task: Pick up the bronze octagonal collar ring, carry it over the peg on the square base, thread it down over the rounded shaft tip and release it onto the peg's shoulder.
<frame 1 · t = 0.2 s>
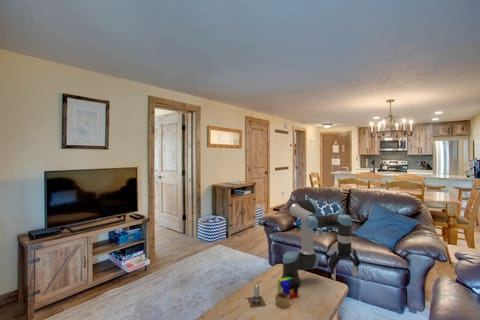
hand: (344, 277, 146), 28 cm above the table, fingers open, 13 cm apart
peg on square base: (256, 302, 168), on the table
ring: (282, 304, 166), on the table
puzzle toy: (287, 295, 177), on the table
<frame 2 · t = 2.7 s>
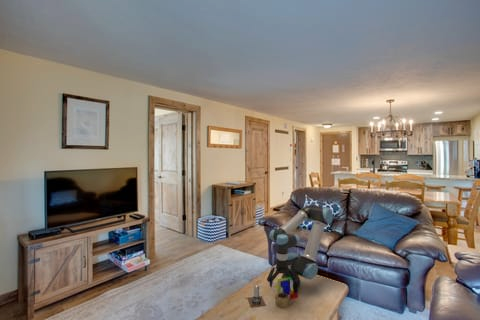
hand: (281, 290, 165), 10 cm above the table, fingers open, 13 cm apart
nothing on the table moved.
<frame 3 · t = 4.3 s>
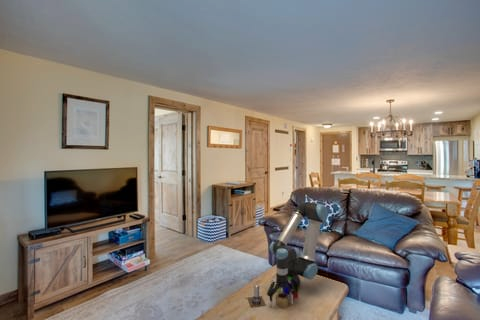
hand: (281, 304, 165), 0 cm above the table, fingers open, 13 cm apart
nothing on the table moved.
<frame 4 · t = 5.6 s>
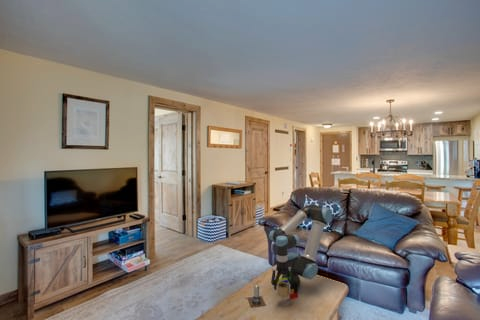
hand: (282, 293, 166), 7 cm above the table, fingers closed on ring, 8 cm apart
ring: (282, 293, 166), point 7 cm above the table, touching gripper
everything else where it was.
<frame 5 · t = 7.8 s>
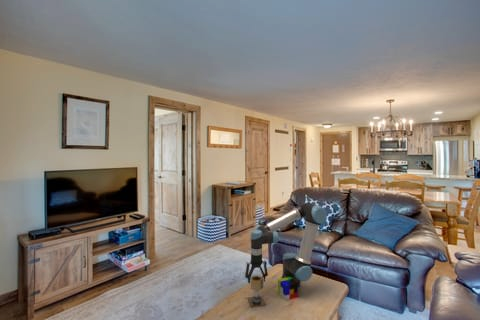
hand: (256, 286, 168), 11 cm above the table, fingers closed on ring, 8 cm apart
ring: (256, 287, 168), point 10 cm above the table, touching gripper
everything else where it was.
when the fingers open (3 cm above the table, at t = 10.2 s): ring stays where it is, resting on peg on square base.
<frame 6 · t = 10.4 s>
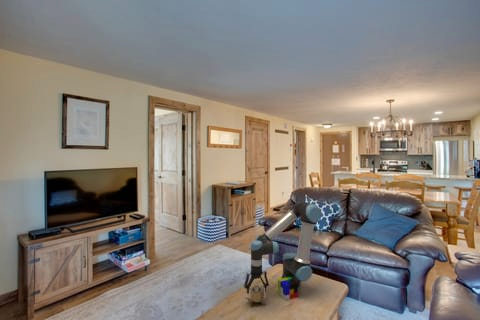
hand: (256, 297, 168), 4 cm above the table, fingers open, 9 cm apart
ring: (256, 298, 168), point 3 cm above the table, touching peg on square base
everything else where it was.
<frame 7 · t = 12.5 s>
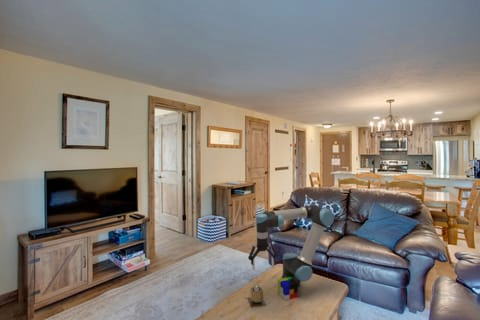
hand: (263, 268, 169), 23 cm above the table, fingers open, 13 cm apart
nothing on the table moved.
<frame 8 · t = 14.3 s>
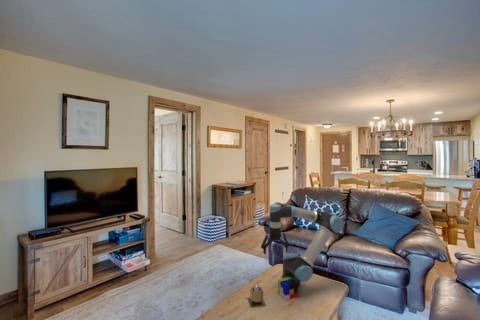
hand: (275, 257, 172), 29 cm above the table, fingers open, 13 cm apart
nothing on the table moved.
at the end: ring 0.1 cm off-centre on the peg on square base, point 2.8 cm above the peg on square base's base; ring tilted 0°; the gripper is holding nothing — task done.
